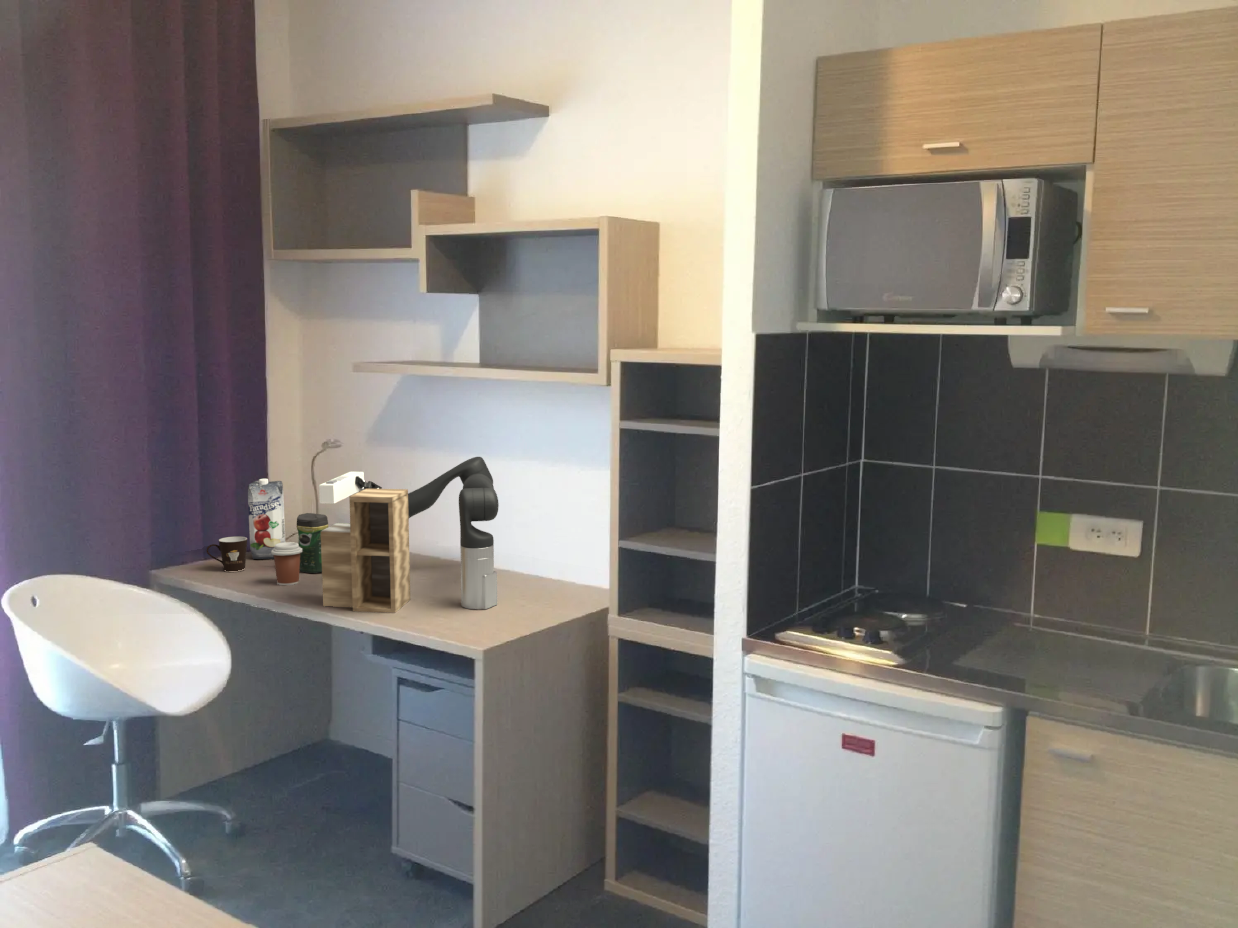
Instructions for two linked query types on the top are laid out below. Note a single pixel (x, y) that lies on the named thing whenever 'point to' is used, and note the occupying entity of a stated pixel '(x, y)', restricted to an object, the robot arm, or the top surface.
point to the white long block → (339, 488)
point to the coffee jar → (311, 541)
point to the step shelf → (369, 554)
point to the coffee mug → (232, 552)
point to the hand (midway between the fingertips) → (348, 479)
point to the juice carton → (265, 517)
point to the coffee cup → (287, 562)
